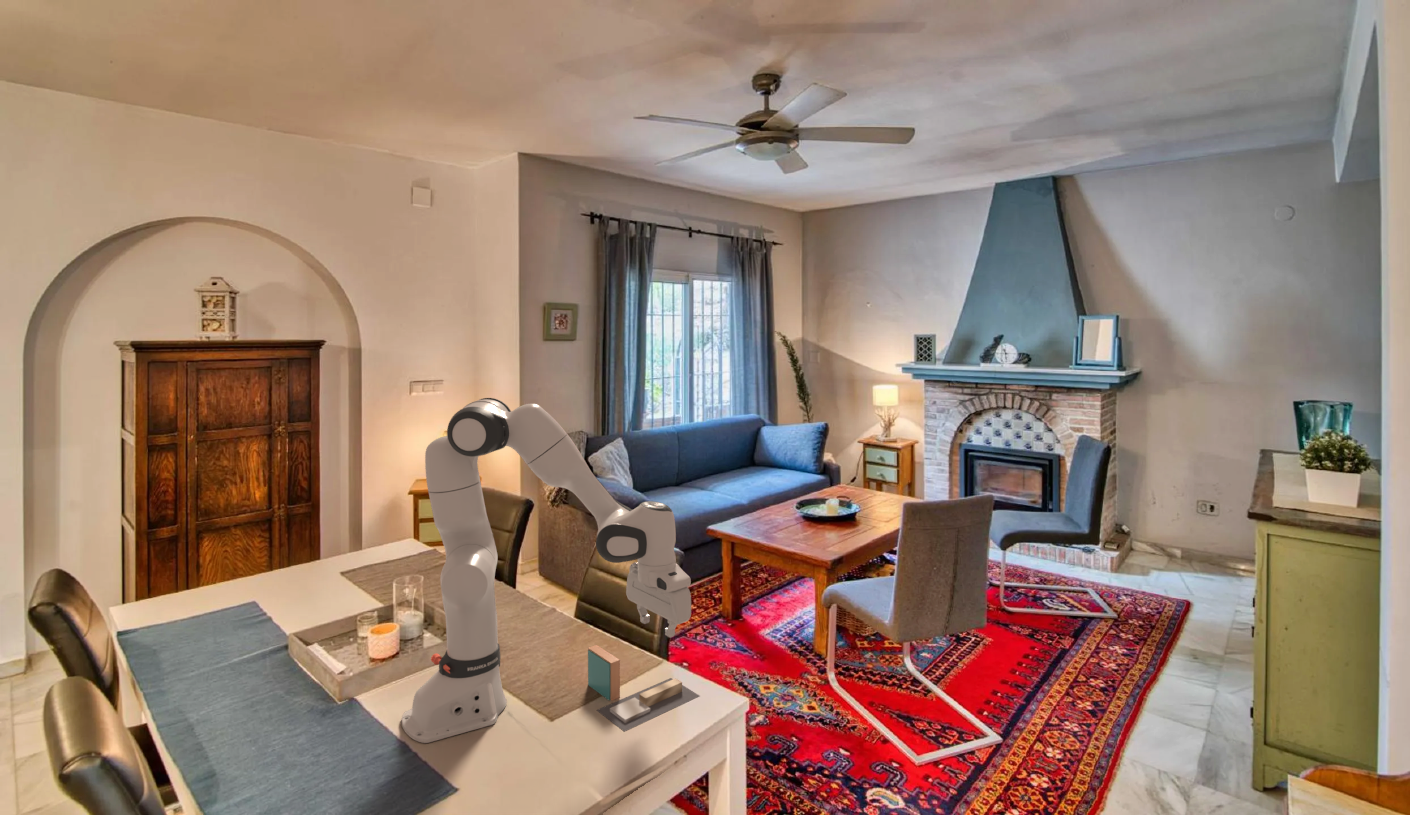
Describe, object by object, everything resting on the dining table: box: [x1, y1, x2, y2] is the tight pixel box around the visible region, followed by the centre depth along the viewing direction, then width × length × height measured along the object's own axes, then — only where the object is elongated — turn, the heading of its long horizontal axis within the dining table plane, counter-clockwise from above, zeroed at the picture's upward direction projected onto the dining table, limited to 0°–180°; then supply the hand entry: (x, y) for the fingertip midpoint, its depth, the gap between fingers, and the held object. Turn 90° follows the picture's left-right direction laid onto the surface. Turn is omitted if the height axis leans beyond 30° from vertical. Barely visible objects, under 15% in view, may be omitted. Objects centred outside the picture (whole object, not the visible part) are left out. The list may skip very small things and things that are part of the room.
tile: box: [587, 644, 621, 702], centre depth 163 cm, size 3×10×10 cm, turn 42°
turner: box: [610, 678, 683, 723], centre depth 158 cm, size 18×6×2 cm, turn 132°
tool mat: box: [596, 677, 700, 732], centre depth 159 cm, size 22×11×1 cm, turn 132°
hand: (657, 628), depth 158 cm, fingers open, 8 cm apart
